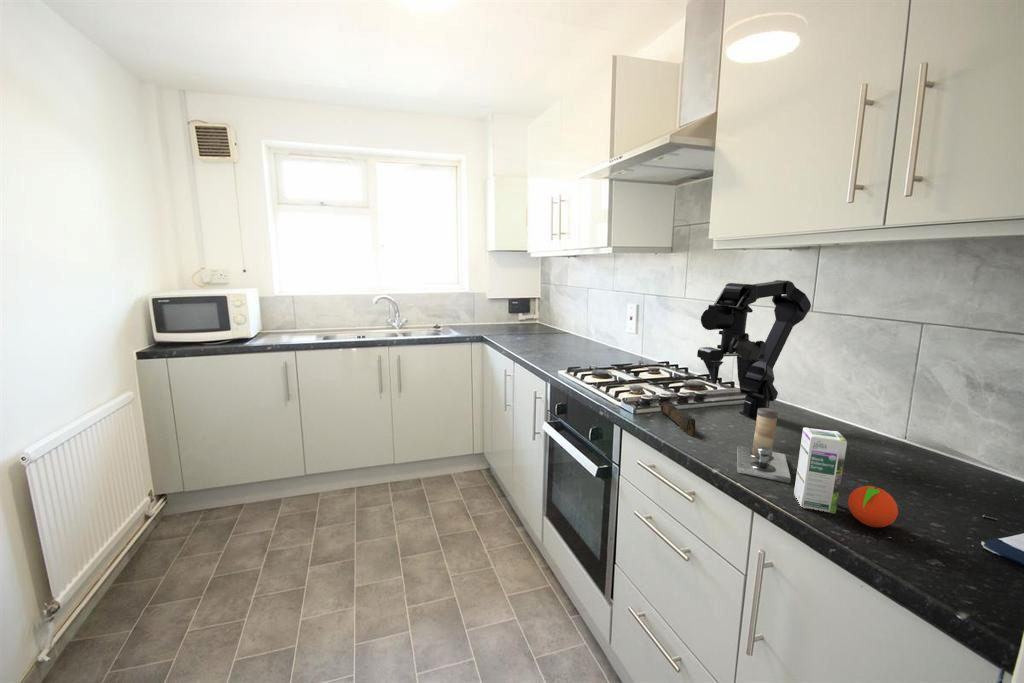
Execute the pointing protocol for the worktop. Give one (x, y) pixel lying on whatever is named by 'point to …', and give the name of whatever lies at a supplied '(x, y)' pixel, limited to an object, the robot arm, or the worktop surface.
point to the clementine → (873, 506)
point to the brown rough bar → (679, 417)
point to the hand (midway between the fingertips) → (727, 382)
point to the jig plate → (754, 472)
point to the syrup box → (820, 469)
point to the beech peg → (764, 430)
